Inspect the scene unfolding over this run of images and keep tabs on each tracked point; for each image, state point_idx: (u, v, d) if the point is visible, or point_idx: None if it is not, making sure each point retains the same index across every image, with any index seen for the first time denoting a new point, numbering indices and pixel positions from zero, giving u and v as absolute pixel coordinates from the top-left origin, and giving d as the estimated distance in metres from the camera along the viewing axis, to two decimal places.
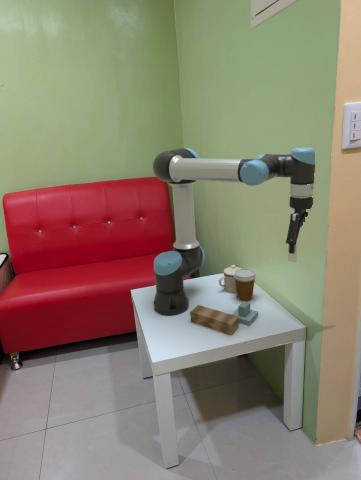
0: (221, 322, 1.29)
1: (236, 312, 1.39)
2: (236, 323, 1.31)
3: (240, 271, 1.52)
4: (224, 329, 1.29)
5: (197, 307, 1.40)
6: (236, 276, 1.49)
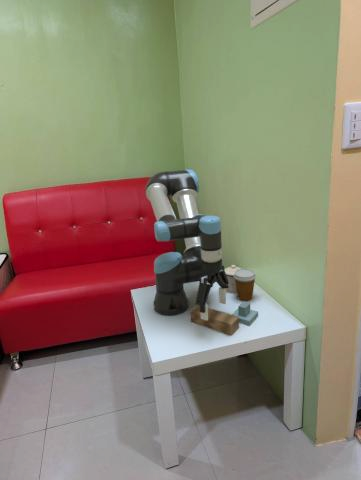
0: (221, 322, 1.29)
1: (236, 312, 1.39)
2: (237, 323, 1.31)
3: (240, 271, 1.52)
4: (224, 329, 1.29)
5: (197, 307, 1.40)
6: (236, 276, 1.49)
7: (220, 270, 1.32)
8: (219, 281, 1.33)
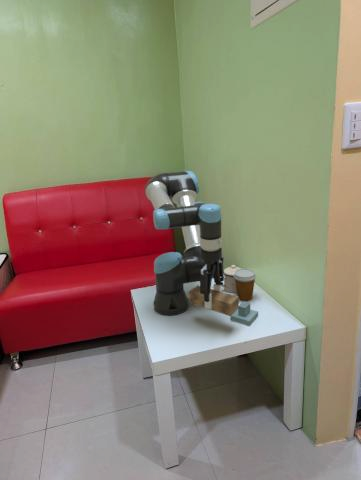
0: (220, 302, 1.27)
1: (236, 312, 1.39)
2: (236, 303, 1.29)
3: (240, 271, 1.52)
4: (224, 309, 1.27)
5: (196, 287, 1.37)
6: (236, 276, 1.49)
7: (219, 261, 1.31)
8: (216, 273, 1.30)
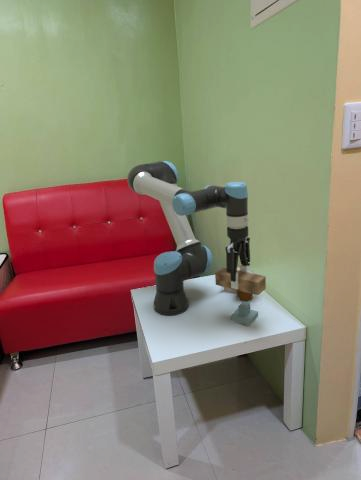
0: (247, 281, 1.25)
1: (236, 312, 1.39)
2: (263, 283, 1.27)
3: None
4: (251, 288, 1.25)
5: (222, 269, 1.36)
6: None
7: (245, 241, 1.30)
8: (242, 253, 1.30)
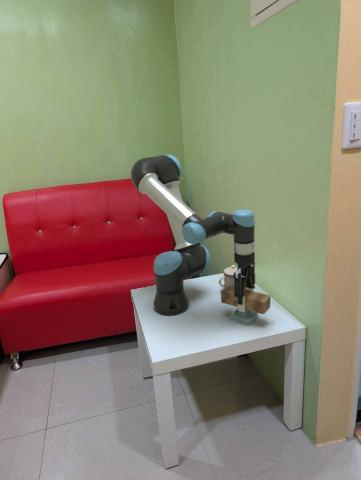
0: (253, 300, 1.30)
1: (236, 312, 1.39)
2: (268, 302, 1.32)
3: None
4: (257, 307, 1.30)
5: (227, 287, 1.40)
6: None
7: (251, 265, 1.35)
8: (248, 277, 1.34)
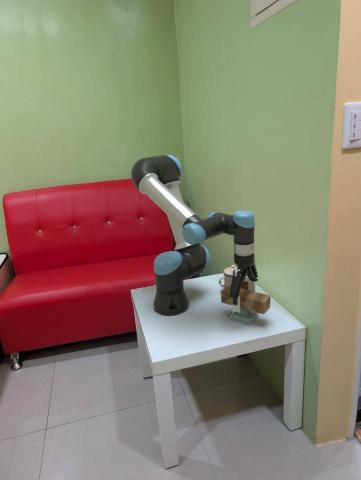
0: (253, 300, 1.30)
1: (236, 312, 1.39)
2: (268, 302, 1.32)
3: None
4: (257, 307, 1.30)
5: (227, 287, 1.40)
6: None
7: None
8: (250, 274, 1.36)
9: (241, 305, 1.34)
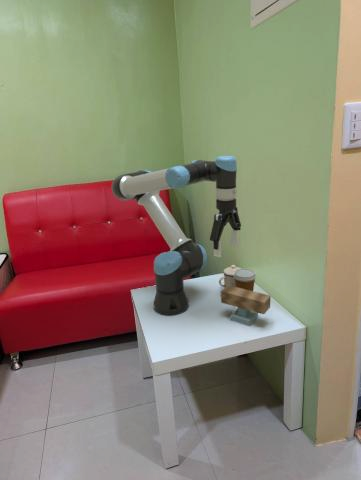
0: (253, 300, 1.30)
1: (236, 312, 1.39)
2: (268, 302, 1.32)
3: (240, 271, 1.52)
4: (257, 307, 1.30)
5: (227, 287, 1.40)
6: (236, 276, 1.49)
7: (233, 211, 1.38)
8: (232, 222, 1.38)
9: (241, 305, 1.34)
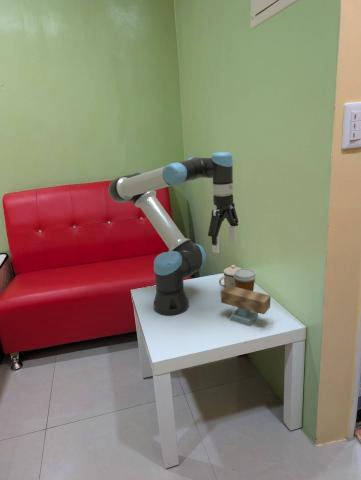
0: (253, 300, 1.30)
1: (236, 312, 1.39)
2: (268, 302, 1.32)
3: (240, 271, 1.52)
4: (257, 307, 1.30)
5: (227, 287, 1.40)
6: (236, 276, 1.49)
7: (231, 207, 1.39)
8: (229, 218, 1.39)
9: (241, 305, 1.34)
